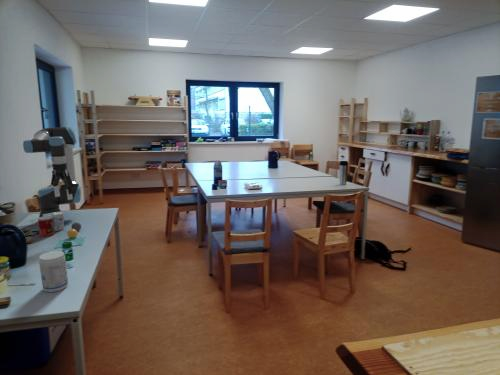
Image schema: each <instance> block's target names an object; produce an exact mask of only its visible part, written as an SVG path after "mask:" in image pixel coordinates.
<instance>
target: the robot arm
mask: <svg viewBox="0 0 500 375" xmlns="http://www.w3.org/2000/svg"><path fill="white" fill-rule="evenodd" d="M77 143H78V142H77V138H76V134H75V131H74V128H73V127H70V126H68V127H67V126H64V127H63V126H62V127H60V126H59V127H45V128H42V129H39V130H37V131H36V132H35V133H34V135H33V138H32V139H27V140H24V141H23V142H22V146H23V147H22V148H23V151H24V152H25V153H26V154H33V153H50V156H51V157H50V160H51V165H52V171H51V174H52V175H51V181H50V184H51V186H47V187H43V188H40V189H39V190H38V191H37V197H38V202H39V210H40V211H39V217H38V218H40V217H43V214H49V213H54V212H61V213H63V212H62V210H61V208H60V205H69V204H78V203H81V200H82V186H80V184H79V183H78V182H77V178H76V168H75V160H74V158H75V157H74V147H75V145H76V144H77ZM60 180H61V181H62V182H61V184H60V186H59V183H60ZM63 220H64V216H63Z"/></svg>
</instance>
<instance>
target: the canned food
mask: <svg viewBox="0 0 500 375" xmlns="http://www.w3.org/2000/svg"><path fill="white" fill-rule="evenodd" d="M37 220H38V229H39V234H40V237H42V238H45V237H47V238H48V237H52V236H54V235H55V233H56V231H55V230H54V223H53V217H52V216H43V217H40V218H39V217H38V218H37Z"/></svg>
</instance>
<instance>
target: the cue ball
mask: <svg viewBox="0 0 500 375" xmlns="http://www.w3.org/2000/svg"><path fill="white" fill-rule="evenodd" d="M71 229H75V230H76V231H77V232H79V231H80V230H81V229H82V225H81V223H80V222H78V221H77V222H73V223H72V224H71Z"/></svg>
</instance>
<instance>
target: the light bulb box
mask: <svg viewBox="0 0 500 375" xmlns="http://www.w3.org/2000/svg"><path fill="white" fill-rule="evenodd" d="M61 212H62V211H61ZM61 212H54V213H49V214H43V216H52V217H53V223H54V230H55V232H58V231H63V230H65V222H64V219H63V217H64V213H63V212H62V213H61Z"/></svg>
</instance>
